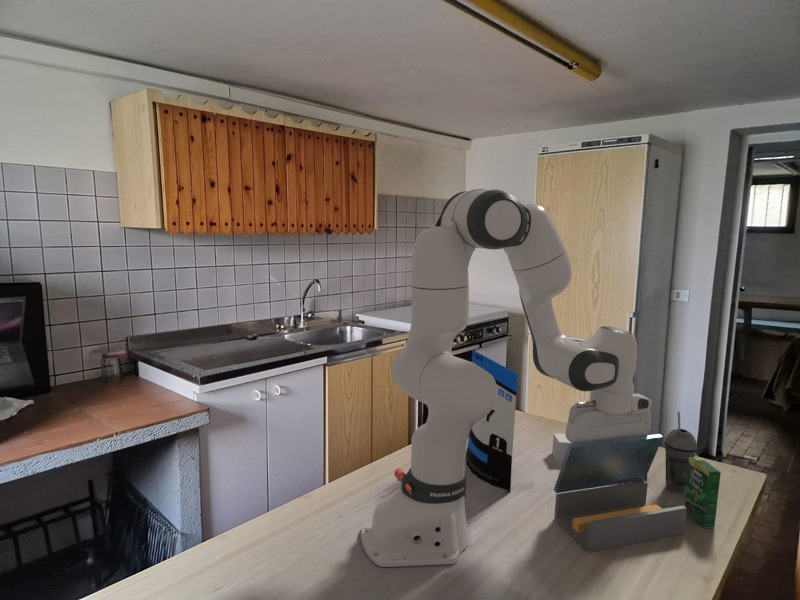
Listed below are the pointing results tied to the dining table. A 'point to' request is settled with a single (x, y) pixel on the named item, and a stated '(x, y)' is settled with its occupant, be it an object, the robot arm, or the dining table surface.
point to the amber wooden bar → (609, 516)
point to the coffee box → (702, 491)
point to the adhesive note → (560, 446)
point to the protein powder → (494, 429)
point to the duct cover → (607, 462)
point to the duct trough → (621, 527)
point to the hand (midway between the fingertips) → (605, 458)
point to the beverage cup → (678, 457)
